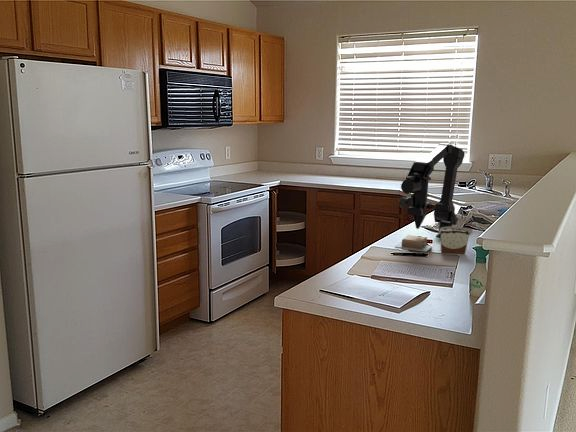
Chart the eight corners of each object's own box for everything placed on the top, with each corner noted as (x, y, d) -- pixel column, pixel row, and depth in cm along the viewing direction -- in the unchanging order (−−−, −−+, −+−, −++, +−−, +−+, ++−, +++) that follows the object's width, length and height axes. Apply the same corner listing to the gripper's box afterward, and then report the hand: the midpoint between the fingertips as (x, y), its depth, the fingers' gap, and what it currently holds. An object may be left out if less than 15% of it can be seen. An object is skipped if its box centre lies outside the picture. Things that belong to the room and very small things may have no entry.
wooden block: (408, 234, 226) (402, 239, 218) (427, 237, 223) (421, 241, 215) (407, 242, 227) (401, 246, 219) (426, 244, 223) (420, 249, 215)
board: (401, 242, 227) (401, 241, 227) (431, 247, 222) (432, 246, 221) (394, 247, 220) (394, 246, 220) (426, 251, 214) (426, 251, 214)
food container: (464, 250, 217) (466, 226, 215) (468, 255, 211) (471, 230, 209) (433, 249, 217) (435, 225, 215) (437, 254, 211) (439, 229, 209)
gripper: (407, 186, 232) (404, 222, 235) (394, 192, 215) (392, 230, 219) (433, 189, 227) (430, 225, 230) (422, 195, 210) (419, 234, 214)
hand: (417, 228), depth 223 cm, fingers closed
